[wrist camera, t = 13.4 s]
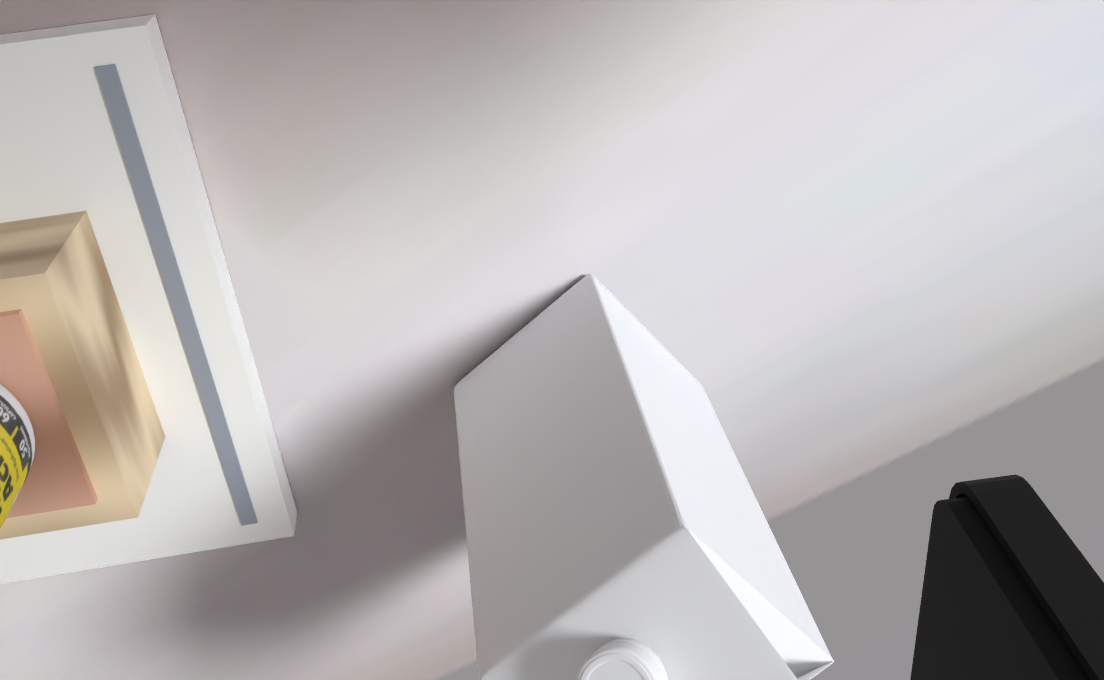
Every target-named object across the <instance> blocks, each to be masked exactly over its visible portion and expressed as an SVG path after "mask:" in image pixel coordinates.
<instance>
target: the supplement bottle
mask: <svg viewBox="0 0 1104 680" xmlns="http://www.w3.org/2000/svg"><path fill="white" fill-rule="evenodd" d="M34 453H35V438H34V432H33V428H32V425H31V422H30V419H29V417H28V415H27V413H26V412H25V410H24V408H23V407H22V406H21V404H20V403H19V402H18V400H17V399H16V398H15V397H14V396H13V395H12V394H11V393H10V392H9V391H8V390H7V389H6V388H5V387H3V386H2V385H1V384H0V529H1V527H2V525H3V523H4V521H5V519H6V518H7V516H8V514H9V512H10V510H11V508H12V506H13V504H14V502H15V500H16V498H17V496H18V494H19V492H20V490H21V488H22V486H23V484H24V483H25V480H26V478H27V476H28V473H29V471H30V468H31V465H32V462H33V458H34Z"/></svg>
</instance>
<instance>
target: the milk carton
mask: <svg viewBox="0 0 1104 680" xmlns="http://www.w3.org/2000/svg"><path fill="white" fill-rule="evenodd" d="M454 401H455V412H456V424H457V435H458V447H459V458H460V470H461V481H462V492H463V504H464V515H465V527H466V538H467V549H468V561H469V572H470V584H471V595H472V607H473V618H474V629H475V641H476V652H477V662H478V671H479V677H480V680H810V679H811V678H813V677H814V676H816V675H817V674H818V673H820V672H821V671H822V670H824V669H825V668H827V667H828V666H829V665H831V664H832V663H833V662H834V660H833V659H832V657H831V655H830V653H829V651H828V649H827V647H826V645H825V643H824V641H823V639H822V637H821V634H820V632H819V630H818V628H817V626H816V624H815V622H814V620H813V618H812V615H811V614H810V611H809V609H808V607H807V605H806V603H805V601H804V599H803V597H802V594H801V592H800V590H799V588H798V586H797V584H796V582H795V580H794V578H793V575H792V574H791V571H790V569H789V567H788V565H787V563H786V561H785V559H784V557H783V554H782V552H781V550H780V548H779V546H778V544H777V542H776V540H775V538H774V536H773V534H772V531H771V529H770V527H769V525H768V523H767V521H766V519H765V517H764V515H763V512H762V510H761V508H760V506H759V504H758V502H757V500H756V498H755V496H754V494H753V491H752V489H751V487H750V485H749V483H748V481H747V479H746V477H745V475H744V473H743V470H742V468H741V466H740V464H739V462H738V460H737V458H736V456H735V454H734V452H733V449H732V447H731V445H730V443H729V441H728V439H727V437H726V435H725V433H724V430H723V428H722V426H721V424H720V422H719V420H718V418H717V416H716V414H715V412H714V409H713V407H712V405H711V403H710V401H709V399H708V397H707V395H706V393H705V391H704V389H703V387H702V385H701V384H700V383H699V382H698V381H697V380H696V379H695V378H694V377H693V376H692V375H691V374H690V373H689V372H688V371H687V370H686V369H685V368H684V367H683V366H682V365H681V364H680V363H679V362H678V361H677V360H676V359H675V358H674V357H673V356H672V355H671V354H670V352H669V351H668V350H667V349H666V348H665V347H664V346H663V345H662V344H661V343H660V342H659V341H658V340H657V339H656V338H655V337H654V336H653V335H652V334H651V333H650V332H649V331H648V330H647V329H646V328H645V327H644V326H643V325H642V324H641V323H640V322H639V321H638V320H637V319H636V318H635V317H634V316H633V315H632V314H631V313H630V312H629V311H628V310H627V309H626V308H625V307H624V306H623V305H622V304H621V303H620V302H619V301H618V300H617V299H616V298H615V297H614V296H613V295H612V294H611V293H610V292H609V291H608V289H607V288H606V287H605V286H604V285H603V284H602V283H601V282H600V281H599V280H598V279H597V278H596V277H595V276H594V275H592V274H588V275H586V276H585V277H584V278H582V279H581V280H580V281H579V282H577V283H576V284H575V285H574V286H573V287H571V288H570V289H569V290H568V291H567V292H565V293H564V294H563V295H562V296H561V297H559V298H558V299H557V300H556V301H555V302H553V303H552V304H551V305H550V306H549V307H547V308H546V309H545V310H544V311H543V312H541V313H540V314H539V315H538V316H537V317H535V318H534V319H533V320H532V321H531V322H529V323H528V324H527V325H526V326H525V327H524V328H522V329H521V330H520V331H519V332H518V333H516V334H515V335H514V336H513V337H512V338H510V339H509V340H508V341H507V342H506V343H504V344H503V345H502V346H501V347H500V348H498V349H497V350H496V351H495V352H494V353H492V354H491V355H490V356H489V357H488V358H487V359H485V360H484V361H483V362H482V363H481V364H479V365H478V366H477V367H476V368H475V369H473V370H472V371H471V372H470V373H469V374H467V375H466V376H465V377H464V378H463V379H462V380H461V381H459V382H458V383H457V384H456V385H455V387H454Z"/></svg>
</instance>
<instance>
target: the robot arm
mask: <svg viewBox="0 0 1104 680" xmlns="http://www.w3.org/2000/svg"><path fill="white" fill-rule="evenodd" d="M911 680H1104V583H1103V581H1102V580H1101V579H1100V577H1099V576H1098V575H1097V573H1096V572H1095V571H1094V569H1093V568H1092V567H1091V565H1090V564H1089V563H1088V561H1087V560H1086V559H1085V557H1084V556H1083V555H1082V553H1081V552H1080V551H1079V549H1078V548H1077V547H1076V545H1075V544H1074V543H1073V541H1072V540H1071V539H1070V537H1069V536H1068V535H1067V533H1066V532H1065V531H1064V530H1063V528H1062V527H1061V526H1060V524H1059V523H1058V522H1057V520H1056V519H1055V517H1054V516H1053V515H1052V513H1051V512H1050V511H1049V510H1048V508H1047V507H1046V505H1045V504H1044V503H1043V502H1042V500H1041V499H1040V497H1039V496H1038V495H1037V494H1036V492H1035V491H1034V490H1033V488H1032V487H1031V486H1030V484H1028V482H1027V481H1025V479H1024V478H1022V477H1020V476H1018V475H1010V476H1002V477H995V478H988V479H979V480H972V481H965V482H959V483H956V484H955V485H954V486H953V488H952V489H951V493H950V497H949V499H947V500H940V501H937V502H936V504H935V505H934V509H933V515H932V523H931V531H930V538H929V545H928V552H927V560H926V567H925V575H924V582H923V590H922V598H921V605H920V613H919V620H918V627H917V635H916V642H915V650H914V657H913V665H912V672H911Z"/></svg>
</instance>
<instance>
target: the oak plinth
mask: <svg viewBox="0 0 1104 680" xmlns="http://www.w3.org/2000/svg"><path fill="white" fill-rule="evenodd" d="M0 384H1V385H2V386H3V387H5V388H6V389H7V390H8V391H9V392H10V393H11V394H12V395H13V396H14V397H15V398H16V399H17V400H18V402H19V403H20V404H21V406H22V407H23V408H24V410H25V412H26V413H27V415H28V417H29V419H30V422H31V425H32V428H33V432H34V438H35V453H34V458H33V462H32V465H31V468H30V471H29V473H28V476H27V478H26V480H25V483H24V484H23V486H22V488H21V490H20V492H19V494H18V496H17V498H16V500H15V502H14V504H13V506H12V508H11V510H10V512H9V514H8V516H7V518H6V519H5V521H4V523H3V525H2V527H1V529H0V540H1V539H7V538H13V537H20V536H26V535H32V534H38V533H45V532H51V531H57V530H63V529H70V528H76V527H82V526H88V525H95V524H101V523H107V522H113V521H120V520H126V519H132V518H138V517H139V514H140V511H141V508H142V505H143V502H144V499H145V496H146V493H147V490H148V487H149V484H150V481H151V478H152V475H153V472H154V469H155V466H156V463H157V460H158V457H159V454H160V451H161V448H162V445H163V442H164V439H165V434H164V431H163V429H162V426H161V423H160V420H159V417H158V414H157V411H156V408H155V406H154V403H153V400H152V397H151V394H150V391H149V388H148V386H147V383H146V380H145V377H144V374H143V371H142V368H141V366H140V363H139V360H138V357H137V354H136V351H135V348H134V346H133V343H132V340H131V337H130V334H129V331H128V328H127V325H126V323H125V320H124V317H123V314H122V311H121V308H120V305H119V303H118V300H117V297H116V294H115V291H114V288H113V285H112V283H111V280H110V277H109V274H108V271H107V268H106V265H105V262H104V260H103V257H102V254H101V251H100V248H99V245H98V242H97V240H96V237H95V234H94V231H93V228H92V225H91V222H90V220H89V217H88V214H87V211H81V212H74V213H66V214H59V215H52V216H45V217H38V218H31V219H24V220H17V221H10V222H3V223H0Z"/></svg>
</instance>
